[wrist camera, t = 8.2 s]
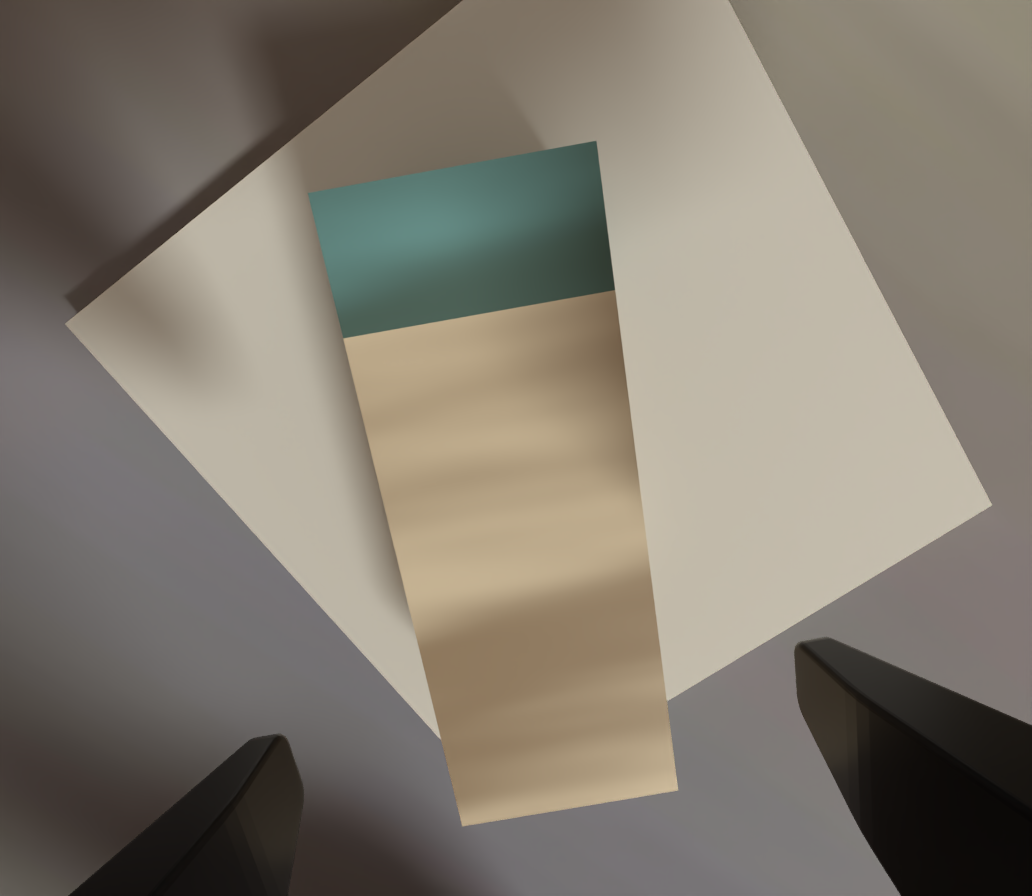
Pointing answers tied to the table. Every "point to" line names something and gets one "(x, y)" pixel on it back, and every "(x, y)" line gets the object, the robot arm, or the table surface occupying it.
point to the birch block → (508, 471)
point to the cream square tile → (642, 317)
